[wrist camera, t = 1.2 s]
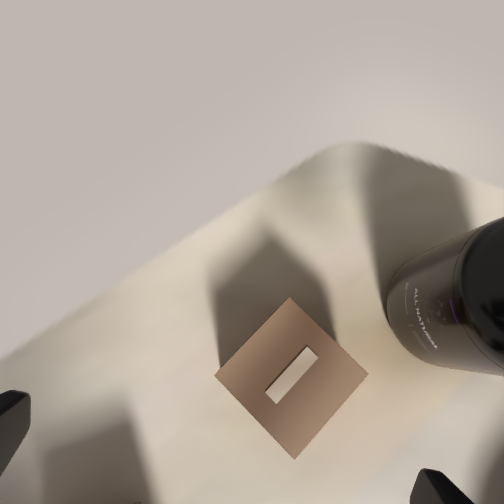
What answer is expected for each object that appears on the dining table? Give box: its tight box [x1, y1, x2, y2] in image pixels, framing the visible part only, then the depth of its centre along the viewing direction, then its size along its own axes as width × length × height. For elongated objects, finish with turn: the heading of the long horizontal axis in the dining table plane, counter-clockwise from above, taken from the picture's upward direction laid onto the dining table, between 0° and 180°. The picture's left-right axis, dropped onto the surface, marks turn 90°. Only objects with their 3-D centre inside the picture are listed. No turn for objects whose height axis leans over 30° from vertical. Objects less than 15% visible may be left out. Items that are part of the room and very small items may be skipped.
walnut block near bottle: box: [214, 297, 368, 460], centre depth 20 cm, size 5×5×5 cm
